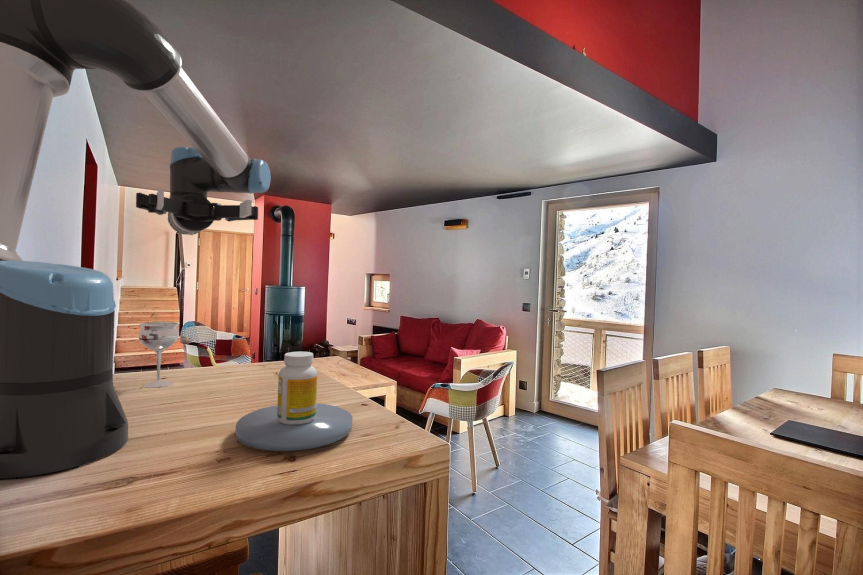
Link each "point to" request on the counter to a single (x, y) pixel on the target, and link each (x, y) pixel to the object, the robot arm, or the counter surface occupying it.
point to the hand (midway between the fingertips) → (207, 202)
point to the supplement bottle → (297, 389)
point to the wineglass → (158, 343)
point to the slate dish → (293, 429)
